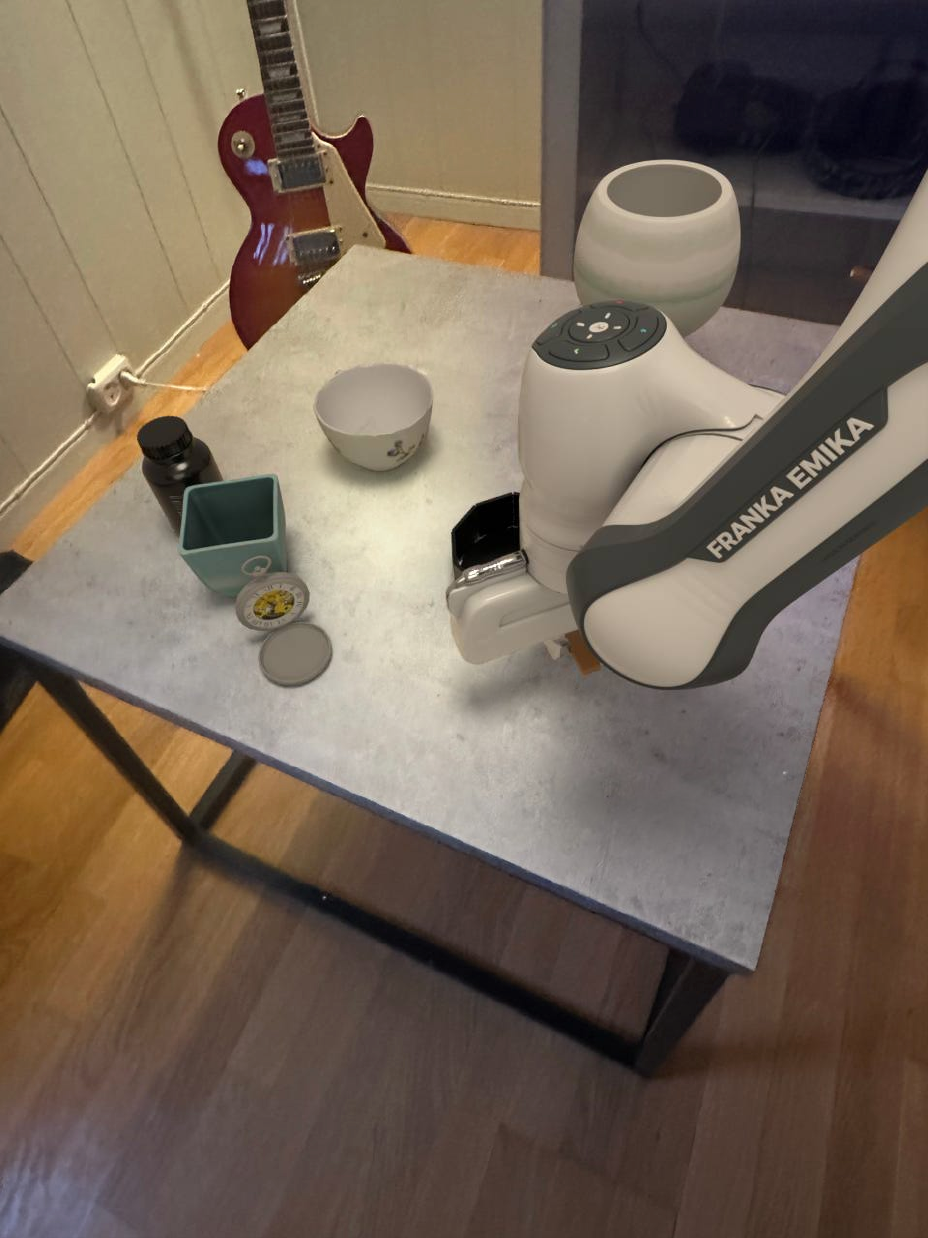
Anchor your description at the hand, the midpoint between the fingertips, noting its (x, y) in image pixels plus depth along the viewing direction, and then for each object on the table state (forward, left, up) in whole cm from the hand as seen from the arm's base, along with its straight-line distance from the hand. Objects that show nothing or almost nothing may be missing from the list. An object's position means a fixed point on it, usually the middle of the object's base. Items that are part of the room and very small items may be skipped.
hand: (574, 645), depth 64 cm
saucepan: (+3, -7, -3) cm, 8 cm away
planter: (-11, -38, -4) cm, 40 cm away
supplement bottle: (+37, -20, -4) cm, 43 cm away
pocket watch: (+25, -3, -4) cm, 26 cm away
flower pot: (+30, -12, -4) cm, 33 cm away
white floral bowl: (+19, -30, -4) cm, 36 cm away
